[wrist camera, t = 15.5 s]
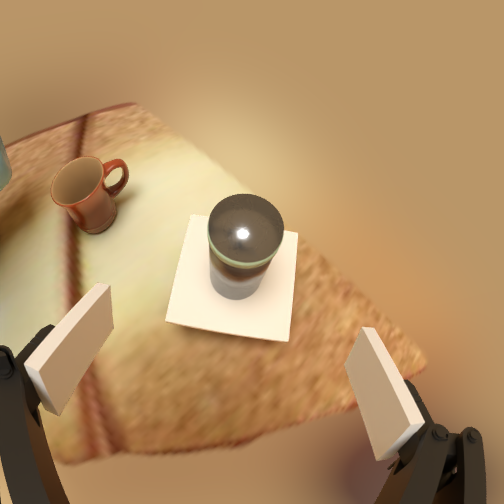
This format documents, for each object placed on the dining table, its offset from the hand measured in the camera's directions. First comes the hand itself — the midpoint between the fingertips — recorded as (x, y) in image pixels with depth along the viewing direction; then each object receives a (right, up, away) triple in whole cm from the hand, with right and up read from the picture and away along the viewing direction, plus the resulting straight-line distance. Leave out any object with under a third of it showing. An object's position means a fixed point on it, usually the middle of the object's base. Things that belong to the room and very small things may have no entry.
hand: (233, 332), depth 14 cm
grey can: (-1, +1, +20) cm, 20 cm away
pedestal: (-2, -1, +26) cm, 26 cm away
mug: (-23, +11, +29) cm, 38 cm away
